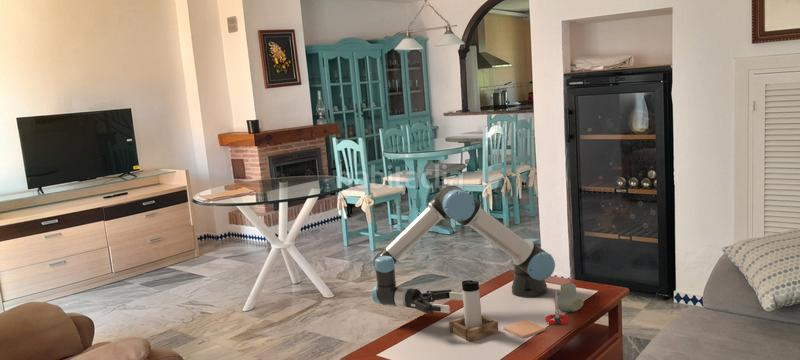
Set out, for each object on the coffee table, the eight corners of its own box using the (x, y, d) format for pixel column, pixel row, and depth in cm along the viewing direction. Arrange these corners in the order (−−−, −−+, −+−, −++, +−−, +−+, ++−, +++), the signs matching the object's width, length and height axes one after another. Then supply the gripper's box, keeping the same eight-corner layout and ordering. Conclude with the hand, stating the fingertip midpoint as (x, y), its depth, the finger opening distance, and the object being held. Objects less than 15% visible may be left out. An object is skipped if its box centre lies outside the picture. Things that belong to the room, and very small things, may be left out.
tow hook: (544, 317, 249) (546, 325, 240) (542, 284, 248) (544, 291, 239) (567, 316, 248) (569, 324, 239) (565, 284, 246) (567, 290, 237)
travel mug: (461, 333, 240) (457, 281, 237) (472, 327, 244) (468, 276, 242) (475, 336, 235) (471, 284, 233) (485, 330, 240) (481, 279, 237)
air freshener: (570, 303, 260) (569, 279, 258) (587, 308, 253) (585, 283, 252) (551, 310, 254) (550, 286, 252) (568, 315, 247) (566, 290, 246)
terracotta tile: (526, 321, 245) (526, 319, 245) (545, 330, 235) (545, 328, 235) (503, 329, 240) (503, 327, 240) (522, 338, 230) (522, 336, 230)
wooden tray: (477, 322, 249) (476, 312, 248) (498, 332, 237) (497, 322, 237) (449, 331, 243) (448, 321, 242) (469, 341, 231) (468, 331, 231)
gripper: (424, 296, 263) (472, 301, 252) (393, 318, 242) (443, 324, 231) (423, 278, 262) (470, 283, 251) (391, 299, 241) (441, 304, 230)
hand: (457, 303), depth 241 cm, fingers open, 13 cm apart
